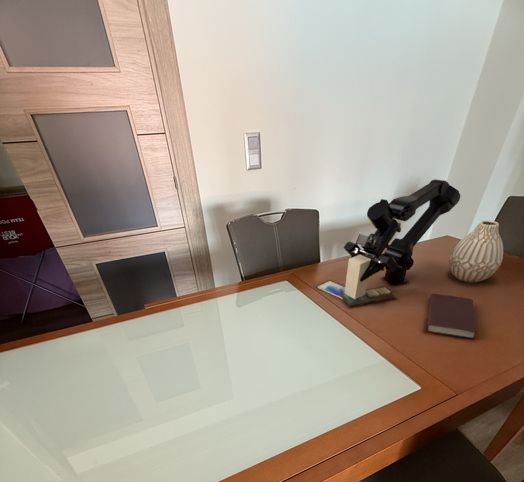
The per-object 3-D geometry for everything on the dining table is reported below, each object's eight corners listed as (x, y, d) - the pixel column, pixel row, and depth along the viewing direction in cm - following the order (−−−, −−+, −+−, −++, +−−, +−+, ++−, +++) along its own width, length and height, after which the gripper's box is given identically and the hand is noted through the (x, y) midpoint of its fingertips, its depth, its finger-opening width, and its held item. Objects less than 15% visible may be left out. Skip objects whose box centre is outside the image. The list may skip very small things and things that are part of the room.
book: (424, 331, 91) (428, 323, 89) (428, 300, 104) (431, 291, 102) (473, 340, 86) (477, 331, 84) (470, 306, 99) (474, 298, 97)
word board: (383, 288, 112) (383, 284, 111) (394, 299, 106) (395, 294, 105) (340, 296, 110) (340, 292, 109) (349, 307, 104) (350, 303, 103)
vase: (467, 265, 121) (488, 212, 109) (503, 282, 110) (530, 225, 97) (434, 273, 118) (451, 220, 106) (467, 291, 107) (490, 234, 94)
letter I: (354, 288, 109) (359, 254, 100) (365, 294, 106) (371, 259, 97) (344, 293, 107) (348, 258, 98) (354, 299, 104) (360, 264, 95)
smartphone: (329, 280, 120) (360, 293, 110) (329, 282, 120) (360, 295, 111) (316, 286, 116) (347, 300, 107) (316, 288, 117) (347, 302, 107)
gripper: (350, 216, 99) (323, 258, 102) (399, 230, 87) (366, 277, 89) (363, 234, 107) (338, 273, 110) (410, 249, 95) (380, 292, 97)
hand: (354, 278), depth 101 cm, fingers closed on letter I, 5 cm apart
